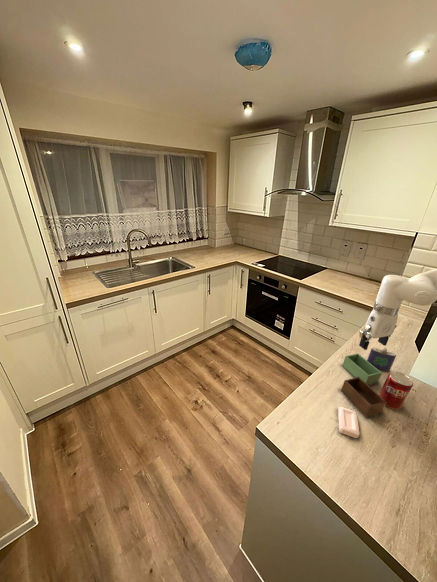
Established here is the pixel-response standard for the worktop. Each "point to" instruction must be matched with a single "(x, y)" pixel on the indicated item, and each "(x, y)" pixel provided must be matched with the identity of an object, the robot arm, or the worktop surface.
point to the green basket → (361, 369)
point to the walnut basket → (363, 397)
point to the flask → (381, 359)
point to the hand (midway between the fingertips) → (372, 345)
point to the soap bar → (348, 422)
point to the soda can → (396, 389)
